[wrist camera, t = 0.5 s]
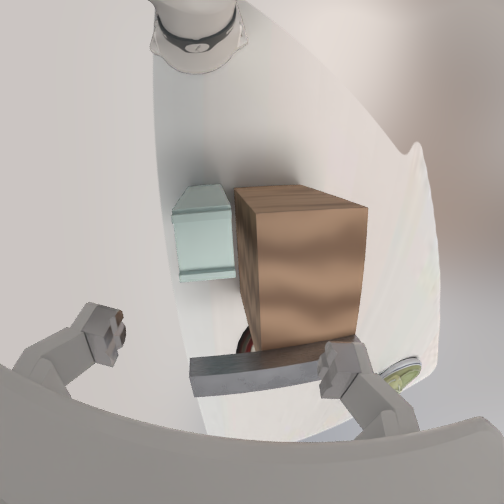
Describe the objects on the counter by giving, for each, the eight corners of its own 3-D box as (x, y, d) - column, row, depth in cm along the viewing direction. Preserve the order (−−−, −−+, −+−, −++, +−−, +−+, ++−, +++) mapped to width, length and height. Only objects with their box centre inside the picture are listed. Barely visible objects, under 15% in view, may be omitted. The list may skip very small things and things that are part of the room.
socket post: (188, 186, 52) (170, 211, 27) (220, 183, 53) (231, 206, 28) (192, 227, 55) (180, 285, 30) (223, 225, 56) (236, 280, 31)
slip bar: (190, 357, 34) (189, 376, 30) (355, 334, 36) (366, 349, 33) (194, 378, 35) (194, 397, 31) (351, 354, 38) (362, 369, 34)
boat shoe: (416, 369, 81) (429, 384, 72) (343, 408, 80) (353, 427, 72) (416, 349, 77) (431, 364, 69) (338, 391, 77) (349, 411, 68)
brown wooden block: (233, 188, 54) (256, 213, 29) (300, 184, 55) (368, 207, 31) (240, 293, 61) (262, 377, 36) (299, 286, 62) (350, 360, 38)
